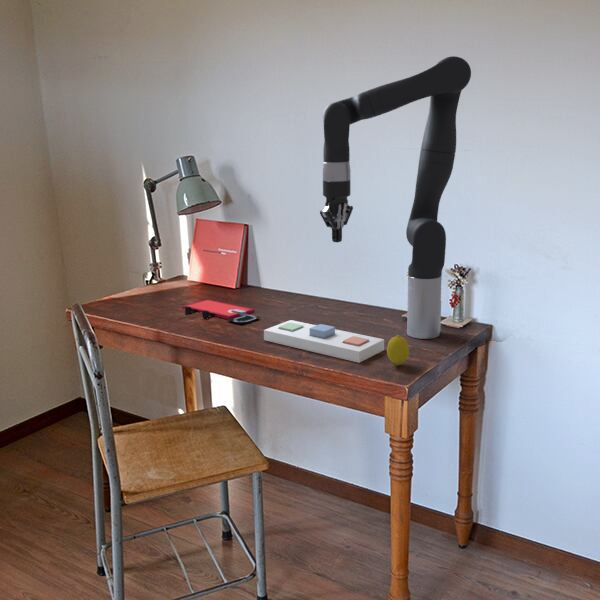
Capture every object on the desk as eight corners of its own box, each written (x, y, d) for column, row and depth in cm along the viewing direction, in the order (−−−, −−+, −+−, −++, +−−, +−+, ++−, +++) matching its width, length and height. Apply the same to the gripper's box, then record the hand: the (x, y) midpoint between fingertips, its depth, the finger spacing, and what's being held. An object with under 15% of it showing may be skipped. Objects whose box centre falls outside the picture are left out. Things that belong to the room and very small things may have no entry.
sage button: (289, 330, 205) (289, 322, 204) (303, 333, 202) (303, 325, 201) (278, 335, 201) (278, 326, 200) (292, 338, 198) (292, 329, 197)
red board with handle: (237, 327, 213) (271, 317, 224) (236, 318, 212) (271, 308, 223) (173, 312, 232) (207, 303, 243) (172, 304, 231) (207, 295, 242)
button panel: (290, 329, 209) (290, 319, 208) (383, 350, 190) (384, 339, 189) (264, 340, 200) (263, 330, 199) (359, 362, 181) (359, 351, 180)
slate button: (320, 332, 198) (320, 323, 197) (335, 335, 195) (335, 326, 194) (309, 337, 194) (309, 328, 193) (324, 340, 191) (324, 331, 190)
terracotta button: (353, 344, 192) (353, 335, 191) (368, 348, 189) (369, 339, 188) (342, 349, 188) (342, 340, 187) (358, 353, 185) (358, 344, 184)
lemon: (386, 368, 176) (386, 338, 174) (387, 361, 182) (387, 331, 180) (408, 369, 176) (409, 339, 173) (409, 362, 181) (409, 332, 179)
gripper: (339, 176, 200) (339, 237, 204) (310, 180, 190) (311, 244, 194) (361, 177, 195) (361, 239, 200) (333, 181, 185) (334, 247, 190)
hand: (336, 241), depth 197 cm, fingers closed
